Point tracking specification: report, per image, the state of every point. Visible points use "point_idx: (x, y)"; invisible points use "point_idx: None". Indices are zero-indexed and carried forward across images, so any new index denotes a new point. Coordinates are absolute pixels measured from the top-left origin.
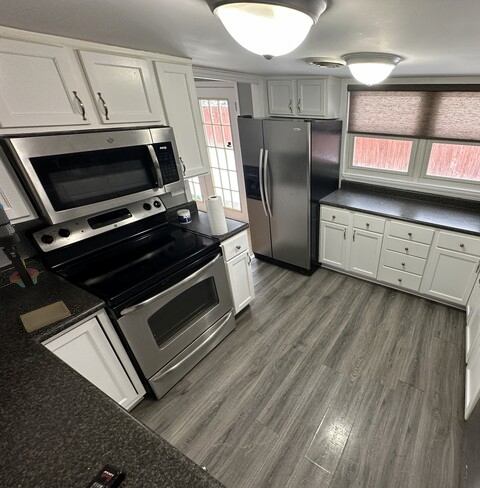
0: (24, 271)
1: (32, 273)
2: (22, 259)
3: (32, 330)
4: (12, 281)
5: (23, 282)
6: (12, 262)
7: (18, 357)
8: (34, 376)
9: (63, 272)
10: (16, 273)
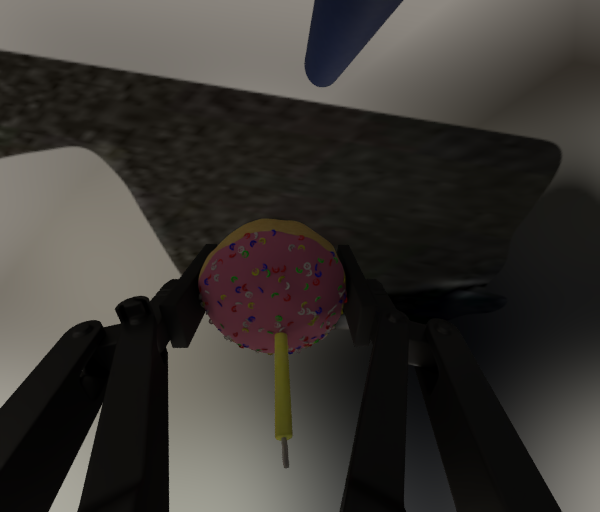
0: (84, 371)
1: (224, 335)
2: (283, 445)
3: None
4: (236, 230)
5: (189, 267)
6: (92, 459)
7: (4, 88)
8: None
9: (494, 294)
10: (248, 292)
